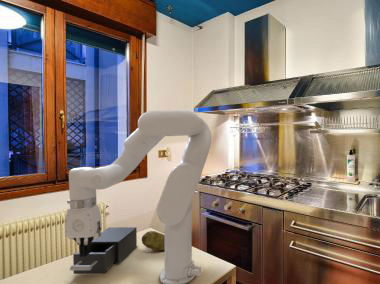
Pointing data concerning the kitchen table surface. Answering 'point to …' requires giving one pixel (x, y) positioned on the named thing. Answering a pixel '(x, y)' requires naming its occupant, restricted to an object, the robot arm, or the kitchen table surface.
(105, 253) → the handled dark box
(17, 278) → the kitchen table surface
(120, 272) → the kitchen table surface
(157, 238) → the potato
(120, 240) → the dark gray cabinet
